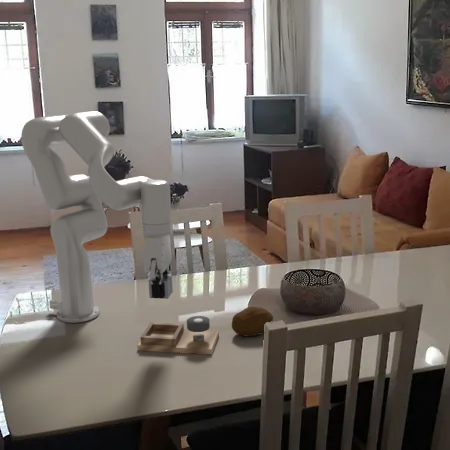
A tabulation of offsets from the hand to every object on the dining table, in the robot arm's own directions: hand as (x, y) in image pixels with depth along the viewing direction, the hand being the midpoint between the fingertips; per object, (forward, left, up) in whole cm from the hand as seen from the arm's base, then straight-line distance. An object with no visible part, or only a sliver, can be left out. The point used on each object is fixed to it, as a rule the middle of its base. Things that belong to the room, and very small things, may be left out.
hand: (161, 293), depth 164 cm
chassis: (+4, 0, -14) cm, 15 cm away
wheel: (+10, 0, -9) cm, 14 cm away
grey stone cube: (0, 0, -1) cm, 1 cm away
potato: (+23, +9, -15) cm, 29 cm away
